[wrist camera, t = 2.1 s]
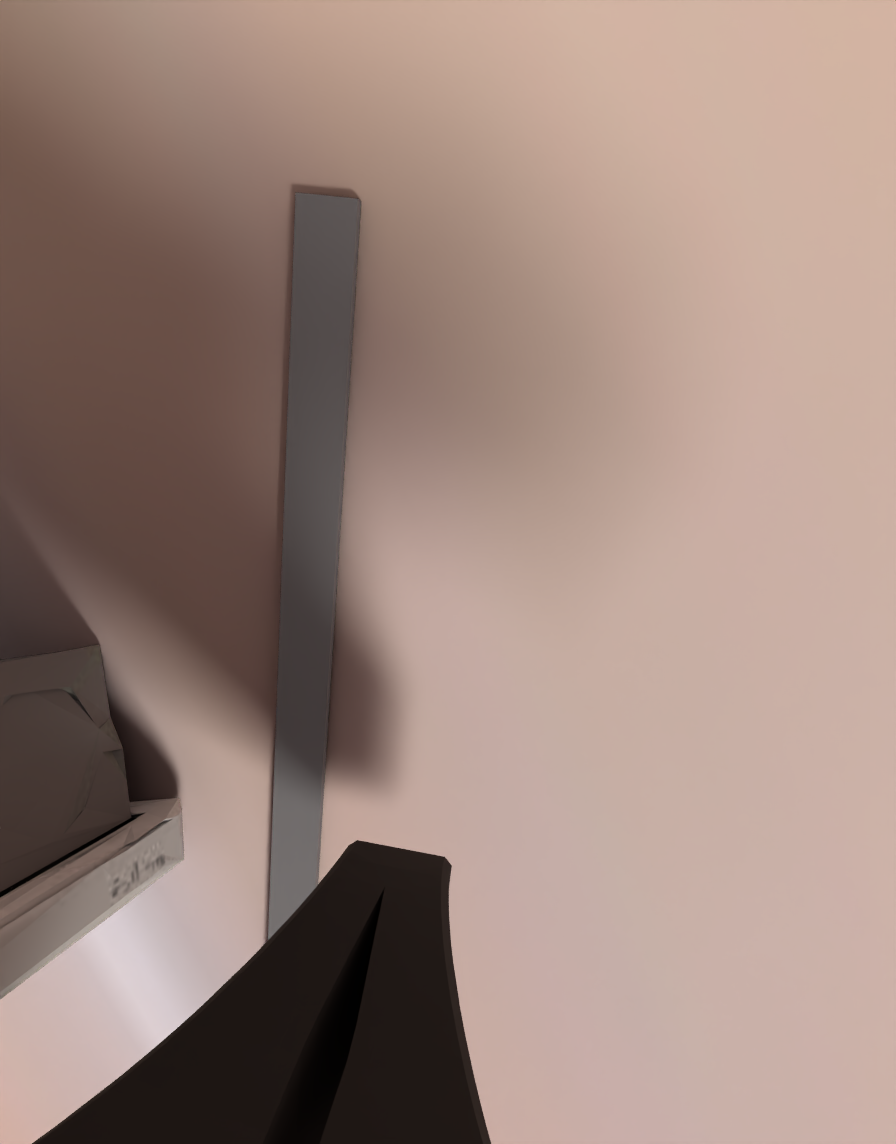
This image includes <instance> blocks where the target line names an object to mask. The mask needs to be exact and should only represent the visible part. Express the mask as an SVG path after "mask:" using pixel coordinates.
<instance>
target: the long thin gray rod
mask: <svg viewBox="0 0 896 1144" xmlns="http://www.w3.org/2000/svg"><path fill="white" fill-rule="evenodd" d="M360 211H361V200H359V199H358V198H348V197H338V196H327V195H317V194H307V193H297V192H296V195H295V222H294V249H293V276H292V303H291V330H290V358H289V385H288V412H287V439H286V466H285V493H284V520H283V547H282V574H281V601H280V628H279V655H278V682H277V709H276V736H275V763H274V790H273V818H272V845H271V872H270V899H269V926H268V940H269V939H270V938H271V937H272V936H273V935H274V934H275V932H276V931H277V930H278V929H279V928H280V927H281V926H282V925H283V924H284V923H285V922H286V921H287V920H288V918H289V917H290V916H291V915H292V914H293V913H294V912H295V911H296V910H297V909H298V908H299V906H300V905H301V904H302V903H303V902H304V901H305V899H306V898H307V897H308V896H309V895H310V894H311V893H312V891H313V890H314V889H315V888H316V887H317V885H318V875H319V859H320V844H321V828H322V812H323V796H324V780H325V765H326V749H327V733H328V717H329V701H330V686H331V670H332V654H333V638H334V622H335V606H336V591H337V575H338V559H339V543H340V527H341V512H342V496H343V480H344V464H345V448H346V433H347V417H348V401H349V385H350V369H351V354H352V338H353V322H354V306H355V290H356V274H357V259H358V243H359V227H360Z"/></svg>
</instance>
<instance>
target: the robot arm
mask: <svg viewBox="0 0 896 1144" xmlns="http://www.w3.org/2000/svg"><path fill="white" fill-rule="evenodd" d="M451 867H452V866H451V864H450V863H449V862H448V861H447V859H446V858H445V857H442V856H437V855H432V854H427V853H421V852H416V851H411V850H406V849H400V848H395V847H390V846H385V845H379V844H374V843H369V842H364V841H358V840H357V841H355V842H354V843H352V844H350V845H349V846H348V847H347V849H346V850H345V851H344V853H343V854H342V855H341V857H340V858H339V859H338V861H337V862H336V863H335V864H334V866H333V867H332V868H331V870H330V871H329V872H328V873H327V875H326V876H325V877H324V878H323V879H322V881H321V882H320V883H319V884H318V885H317V887H316V888H315V889H314V890H313V891H312V893H311V894H310V895H309V896H308V897H307V898H306V899H305V901H304V902H303V903H302V904H301V905H300V906H299V908H298V909H297V910H296V911H295V912H294V913H293V914H292V915H291V916H290V917H289V918H288V920H287V921H286V922H285V923H284V924H283V925H282V926H281V927H280V928H279V929H278V930H277V931H276V932H275V934H274V935H273V936H272V937H271V938H270V939H269V940H268V941H267V942H266V943H265V944H264V945H263V946H262V947H261V949H260V950H259V951H258V952H257V953H256V954H255V955H254V956H253V957H252V958H251V959H250V960H249V961H248V962H247V963H246V964H245V965H244V966H243V967H242V968H241V969H240V970H239V971H238V972H237V973H235V974H234V975H233V976H232V977H231V978H230V979H229V980H228V981H227V982H226V983H225V984H224V985H223V986H222V987H221V988H220V989H219V990H218V991H217V992H216V993H215V994H214V995H213V996H212V997H211V998H210V999H209V1000H208V1001H206V1002H205V1003H204V1004H203V1005H202V1006H201V1007H200V1008H199V1009H198V1010H197V1011H196V1012H195V1013H194V1014H193V1015H191V1016H190V1017H189V1018H188V1019H187V1020H186V1021H185V1022H184V1023H183V1024H181V1025H180V1026H179V1027H178V1028H177V1029H176V1030H175V1031H174V1032H172V1033H171V1034H170V1035H169V1036H168V1037H167V1038H166V1039H164V1040H163V1041H162V1042H161V1043H160V1044H159V1045H157V1046H156V1047H155V1048H154V1049H153V1050H151V1051H150V1052H149V1053H148V1054H147V1055H145V1056H144V1057H143V1058H142V1059H141V1060H139V1061H138V1062H137V1063H136V1064H135V1065H133V1066H132V1067H131V1068H130V1069H129V1070H127V1071H126V1072H125V1073H124V1074H123V1075H121V1076H120V1077H119V1078H118V1079H116V1080H115V1081H114V1082H113V1083H111V1084H110V1085H109V1086H107V1087H106V1088H105V1089H104V1090H102V1091H101V1092H100V1093H98V1094H97V1095H96V1096H94V1097H93V1098H92V1099H91V1100H89V1101H88V1102H87V1103H85V1104H84V1105H83V1106H81V1107H80V1108H79V1109H78V1110H76V1111H75V1112H74V1113H72V1114H71V1115H70V1116H68V1117H67V1118H66V1119H65V1120H63V1121H62V1122H61V1123H59V1124H58V1125H57V1126H55V1127H54V1128H53V1129H51V1130H50V1131H49V1132H47V1133H46V1134H45V1135H43V1136H42V1137H40V1138H39V1139H38V1140H36V1141H35V1142H34V1143H32V1144H491V1142H490V1138H489V1134H488V1131H487V1127H486V1123H485V1120H484V1116H483V1112H482V1108H481V1104H480V1100H479V1096H478V1091H477V1087H476V1083H475V1079H474V1074H473V1070H472V1065H471V1061H470V1056H469V1051H468V1047H467V1042H466V1037H465V1032H464V1027H463V1021H462V1016H461V1011H460V1005H459V998H458V991H457V985H456V978H455V972H454V965H453V957H452V948H451V938H450V924H449V882H450V874H451Z"/></svg>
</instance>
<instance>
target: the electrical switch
mask: <svg viewBox="0 0 896 1144" xmlns="http://www.w3.org/2000/svg"><path fill="white" fill-rule="evenodd" d="M183 860H184V844H183V823H182V808H181V804H180V800H179V798H171V799H159V800H147V801H135V802H129V795H128V787H127V779H126V770H125V762H124V753H123V747H122V745H121V742H120V740H119V737H118V735H117V732H116V730H115V727H114V725H113V722H112V720H111V717H110V710H109V704H108V697H107V691H106V684H105V678H104V671H103V665H102V658H101V652H100V645H94V646H88V647H83V648H78V649H72V650H67V651H62V652H54V653H47V654H39V655H32V656H25V657H17V658H10V659H2V660H0V999H1V998H3V997H4V996H5V995H7V994H8V993H9V992H11V991H12V990H13V989H15V988H16V987H17V986H19V985H20V984H21V983H22V982H24V981H25V980H26V979H28V978H29V977H30V976H32V975H33V974H34V973H36V972H37V971H38V970H40V969H41V968H42V967H44V966H45V965H46V964H48V963H49V962H50V961H52V960H53V959H54V958H56V957H57V956H58V955H60V954H61V953H62V952H64V951H65V950H66V949H67V948H69V947H70V946H71V945H73V944H74V943H75V942H77V941H78V940H79V939H81V938H82V937H83V936H85V935H86V934H87V933H89V932H90V931H91V930H93V929H94V928H95V927H97V926H98V925H99V924H101V923H102V922H103V921H105V920H106V919H107V918H108V917H110V916H111V915H112V914H114V913H115V912H116V911H118V910H119V909H120V908H122V907H123V906H124V905H126V904H127V903H128V902H130V901H131V900H132V899H134V898H135V897H136V896H137V895H139V894H140V893H141V892H143V891H144V890H145V889H146V888H148V887H149V886H150V885H152V884H153V883H154V882H155V881H157V880H158V879H159V878H161V877H162V876H163V875H164V874H166V873H167V872H168V871H170V870H171V869H172V868H174V867H175V866H176V865H177V864H179V863H180V862H181V861H183Z"/></svg>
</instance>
